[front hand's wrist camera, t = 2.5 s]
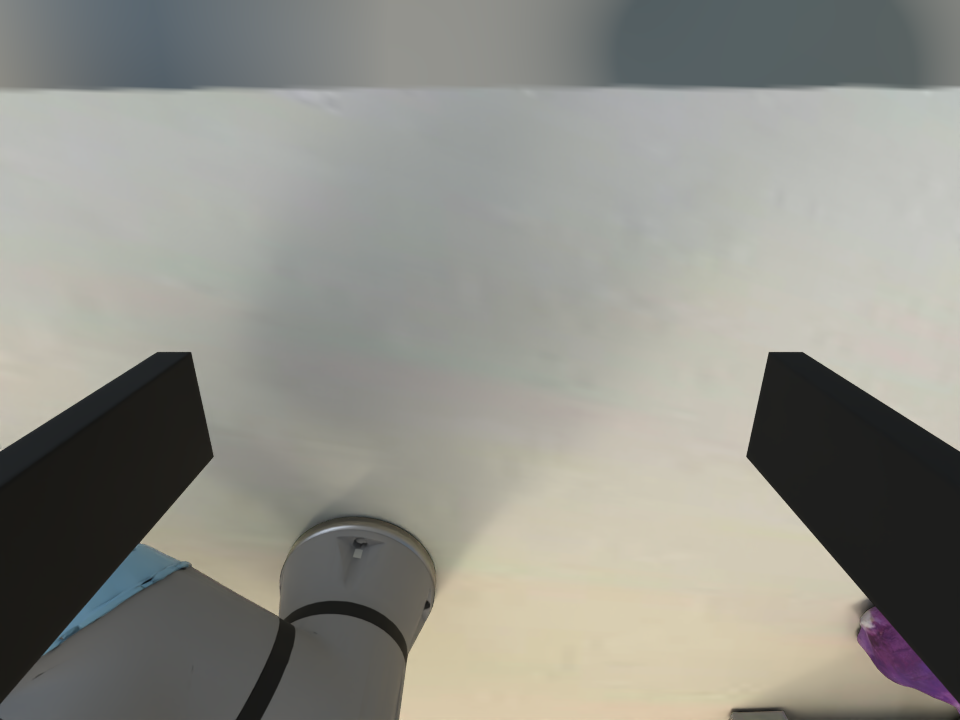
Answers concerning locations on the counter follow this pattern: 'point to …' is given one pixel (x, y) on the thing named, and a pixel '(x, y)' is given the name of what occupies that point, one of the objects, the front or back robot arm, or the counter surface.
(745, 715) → the grey box with legs
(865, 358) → the counter surface
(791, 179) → the counter surface
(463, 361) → the counter surface
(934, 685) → the figurine
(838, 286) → the counter surface
